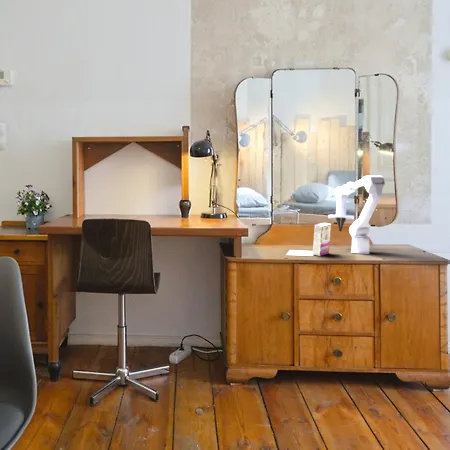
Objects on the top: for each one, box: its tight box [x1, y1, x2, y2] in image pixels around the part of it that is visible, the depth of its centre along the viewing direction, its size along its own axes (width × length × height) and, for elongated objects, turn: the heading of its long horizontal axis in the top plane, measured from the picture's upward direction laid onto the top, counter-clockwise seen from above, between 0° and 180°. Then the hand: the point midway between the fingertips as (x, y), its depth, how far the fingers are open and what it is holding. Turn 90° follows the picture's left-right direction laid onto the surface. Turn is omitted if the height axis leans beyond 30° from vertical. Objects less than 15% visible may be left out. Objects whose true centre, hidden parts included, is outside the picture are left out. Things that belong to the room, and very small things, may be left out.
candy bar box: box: [312, 222, 332, 257], centre depth 240 cm, size 11×5×16 cm, turn 143°
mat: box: [285, 249, 314, 257], centre depth 244 cm, size 14×16×1 cm
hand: (340, 231), depth 260 cm, fingers closed
